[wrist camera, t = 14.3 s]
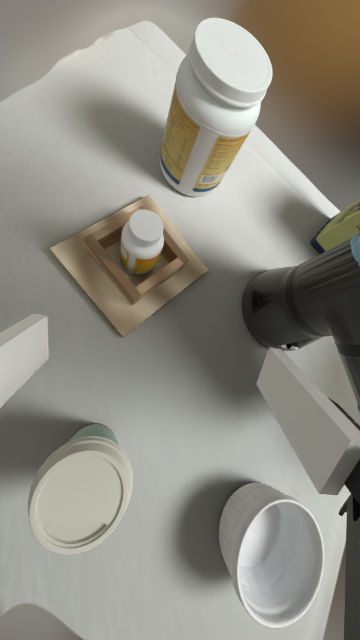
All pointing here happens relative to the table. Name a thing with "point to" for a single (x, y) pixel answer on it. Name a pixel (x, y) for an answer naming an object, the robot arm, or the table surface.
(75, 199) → the table surface
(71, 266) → the birch rack
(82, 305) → the table surface
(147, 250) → the supplement bottle
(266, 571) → the ramekin
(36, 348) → the robot arm
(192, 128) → the supplement tub
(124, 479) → the coffee cup
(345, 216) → the protein box
